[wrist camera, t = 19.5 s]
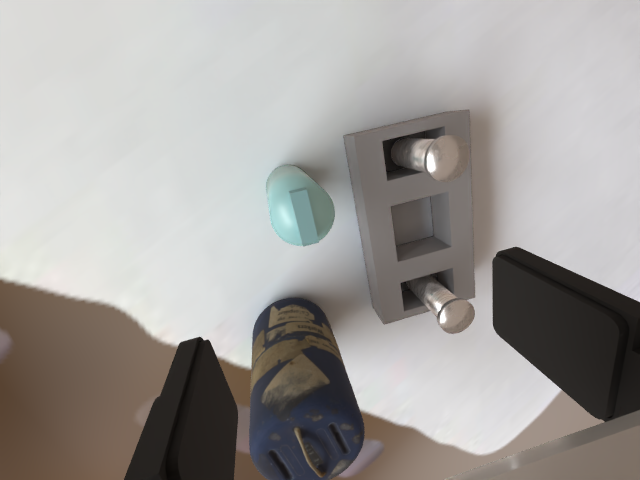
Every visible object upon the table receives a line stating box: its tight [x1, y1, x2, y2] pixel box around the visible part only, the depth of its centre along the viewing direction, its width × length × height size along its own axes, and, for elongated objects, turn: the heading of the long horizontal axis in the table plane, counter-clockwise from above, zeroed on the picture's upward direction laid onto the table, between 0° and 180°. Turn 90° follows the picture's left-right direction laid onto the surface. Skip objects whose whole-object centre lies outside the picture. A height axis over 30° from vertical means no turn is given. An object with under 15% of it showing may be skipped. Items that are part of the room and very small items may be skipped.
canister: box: [249, 298, 364, 480], centre depth 32 cm, size 10×10×18 cm
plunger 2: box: [407, 274, 475, 334], centre depth 36 cm, size 4×4×9 cm
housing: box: [343, 110, 475, 324], centre depth 36 cm, size 22×12×4 cm, turn 12°
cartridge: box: [266, 165, 335, 246], centre depth 28 cm, size 5×5×13 cm
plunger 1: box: [391, 135, 470, 182], centre depth 30 cm, size 4×4×9 cm
